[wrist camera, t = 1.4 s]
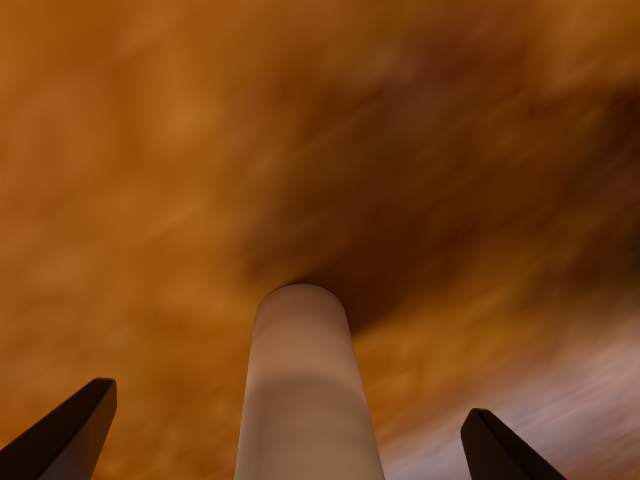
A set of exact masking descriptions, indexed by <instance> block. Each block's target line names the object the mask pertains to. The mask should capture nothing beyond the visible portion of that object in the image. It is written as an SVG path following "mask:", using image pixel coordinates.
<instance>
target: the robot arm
mask: <svg viewBox="0 0 640 480" xmlns="http://www.w3.org/2000/svg"><path fill="white" fill-rule="evenodd" d="M116 408H117V389H116V381H115V380H114V379H110V378H95V379H93V380H92V381H90V382H89V383H88V384H87V385H85V386H84V387H83V388H81V389H80V390H79V391H77V392H76V393H75V394H73V395H72V396H71V397H70V398H68V399H67V400H66V401H64V402H63V403H62V404H60V405H59V406H58V407H56V408H55V409H54V410H53V411H51V412H50V413H49V414H47V415H46V416H45V417H43V418H42V419H41V420H39V421H38V422H37V423H36V424H34V425H33V426H32V427H30V428H29V429H28V430H26V431H25V432H24V433H22V434H21V435H20V436H19V437H17V438H16V439H15V440H13V441H12V442H11V443H9V444H8V445H7V446H5V447H4V448H3V449H2V450H0V480H90V479H91V477H92V474H93V471H94V469H95V466H96V463H97V461H98V458H99V455H100V453H101V450H102V447H103V445H104V442H105V439H106V437H107V434H108V431H109V429H110V426H111V423H112V421H113V418H114V415H115V412H116ZM461 440H462V444H463V448H464V451H465V455H466V459H467V463H468V467H469V471H470V475H471V479H472V480H567V479H566V478H565V477H564V476H563V475H562V474H560V473H559V472H558V471H557V470H556V469H555V468H554V467H553V466H551V465H550V464H549V463H548V462H547V461H546V460H545V459H544V458H542V457H541V456H540V455H539V454H538V453H537V452H536V451H535V450H533V449H532V448H531V447H530V446H529V445H528V444H527V443H526V442H524V441H523V440H522V439H521V438H520V437H519V436H518V435H517V434H515V433H514V432H513V431H512V430H511V429H510V428H509V427H508V426H506V425H505V424H504V423H503V422H502V421H501V420H500V419H499V418H497V417H496V416H495V415H494V414H493V413H492V412H491V411H489V410H487V409H480V408H473V409H472V410H471V411H470V412H469V414H468V416H467V418H466V420H465V422H464V424H463V425H462V427H461Z"/></svg>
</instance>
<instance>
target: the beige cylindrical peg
mask: <svg viewBox="0 0 640 480" xmlns="http://www.w3.org/2000/svg"><path fill="white" fill-rule="evenodd" d="M234 480H385V478H384V474H383V469H382V465H381V461H380V457H379V452H378V448H377V444H376V440H375V436H374V431H373V427H372V423H371V419H370V414H369V410H368V406H367V402H366V398H365V393H364V389H363V385H362V381H361V376H360V372H359V368H358V364H357V360H356V355H355V351H354V347H353V343H352V338H351V334H350V330H349V326H348V322H347V317H346V313H345V310H344V307H343V305H342V303H341V302H340V300H339V299H338V298H337V297H336V296H335V295H334V294H333V293H332V292H330V291H328V290H327V289H325V288H322V287H320V286H317V285H312V284H292V285H288V286H284V287H282V288H279V289H277V290H275V291H273V292H272V293H271V294H269V295H268V296H267V297H266V298H265V299H264V300H263V301H262V302H261V304H260V305H259V307H258V309H257V311H256V314H255V320H254V328H253V336H252V343H251V351H250V359H249V367H248V375H247V383H246V391H245V398H244V406H243V414H242V422H241V430H240V438H239V446H238V453H237V461H236V469H235V477H234Z"/></svg>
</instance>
